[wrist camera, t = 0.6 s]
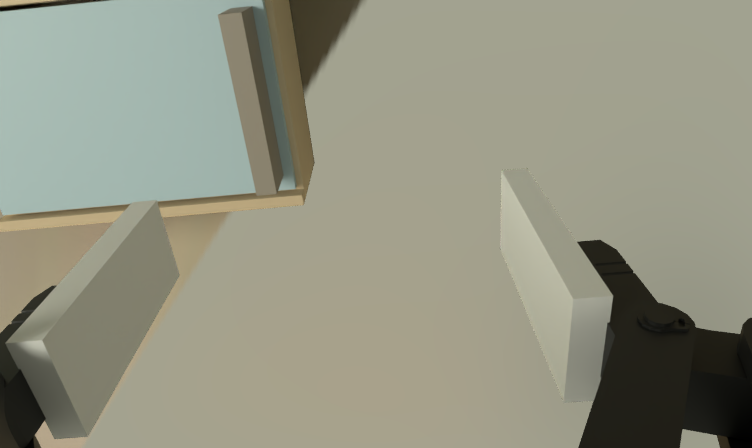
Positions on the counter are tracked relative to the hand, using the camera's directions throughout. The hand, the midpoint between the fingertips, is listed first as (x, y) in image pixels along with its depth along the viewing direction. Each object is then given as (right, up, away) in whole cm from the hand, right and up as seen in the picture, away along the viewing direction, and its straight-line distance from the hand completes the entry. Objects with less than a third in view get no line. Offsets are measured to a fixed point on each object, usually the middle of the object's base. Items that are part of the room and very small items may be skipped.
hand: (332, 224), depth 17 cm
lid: (-14, +7, +16) cm, 22 cm away
